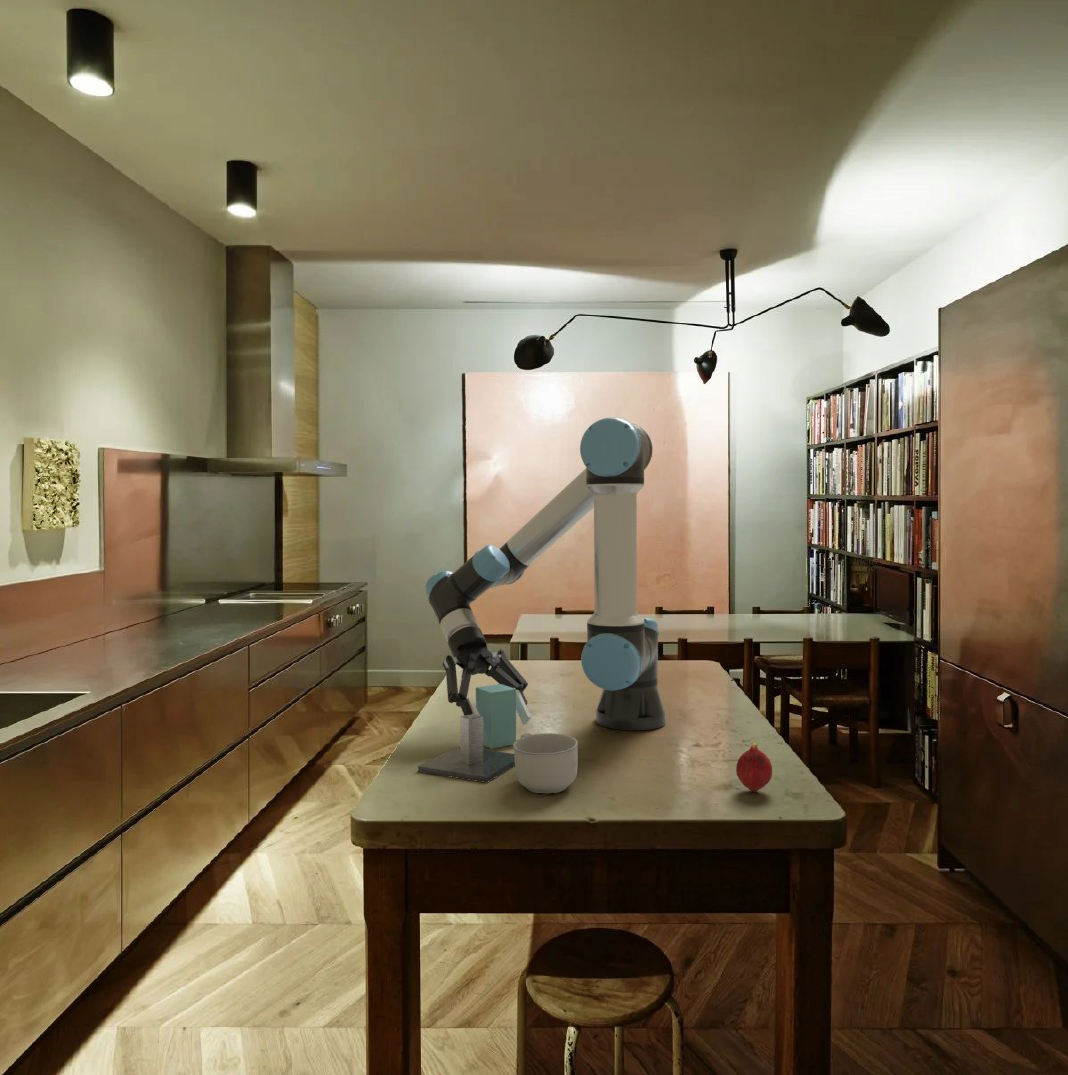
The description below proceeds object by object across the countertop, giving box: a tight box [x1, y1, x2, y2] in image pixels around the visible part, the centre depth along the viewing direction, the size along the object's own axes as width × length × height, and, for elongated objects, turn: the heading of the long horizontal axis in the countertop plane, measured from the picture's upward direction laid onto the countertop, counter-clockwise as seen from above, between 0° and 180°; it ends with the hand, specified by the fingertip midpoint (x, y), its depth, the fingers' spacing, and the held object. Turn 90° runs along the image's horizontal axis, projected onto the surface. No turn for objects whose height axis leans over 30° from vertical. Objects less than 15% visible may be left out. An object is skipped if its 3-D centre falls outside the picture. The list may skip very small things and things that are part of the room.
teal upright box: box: [475, 683, 517, 750], centre depth 167 cm, size 6×6×11 cm
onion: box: [735, 742, 773, 793], centre depth 139 cm, size 6×6×8 cm
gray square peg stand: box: [417, 714, 515, 783], centre depth 153 cm, size 14×14×9 cm
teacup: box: [512, 732, 579, 794], centre depth 142 cm, size 14×11×8 cm
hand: (503, 724), depth 165 cm, fingers open, 10 cm apart
